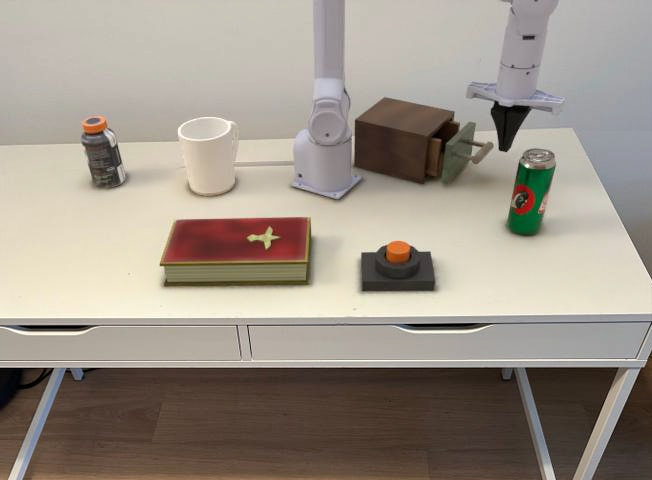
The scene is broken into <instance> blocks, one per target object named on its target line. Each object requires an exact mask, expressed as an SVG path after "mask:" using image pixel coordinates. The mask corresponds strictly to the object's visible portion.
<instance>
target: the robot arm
mask: <svg viewBox="0 0 652 480" xmlns="http://www.w3.org/2000/svg"><path fill="white" fill-rule="evenodd" d="M499 1H500V2H502V3H508V4H510V5H511V7H509V12H508V18H507V24H506V27H505V29H504V36H503V43H502V48H501V56H500V60H499V66H498V67H499V68H498V73H497V79H496V82H479V81H472V82H470V83H469V84H468V85H467V86H466V94H465V98H466V99H469V100H473V99H478V100H484V101H488V102H489V101H490V102H493V105H492V107H491V108H490V116H491V118H492V120H493V124H494V126H495V130H496V136H497V144H498V145H497V146H498V151H499V152H503V153H508V152H509V151H510V149H511V148H512V146H513V144H514V140H515V138H516V136H517V134H518V132H519V130H520V128H521V126H522V125H523V123H524V121H525V120H526V118H527V117H528V116H529V114H530V112H531V111H532V110H537V111H542V112H547V113H551V116H552V115H553V116H559V115H560V114H561V113H562V112H563V110H564V106H565V101H566V98H565V97H561V96H557V95H555V94H551V93H548V92H546V91H543V90H540V89H538V88H537V84H538V79H539V74H540V69H541V64H542V61H543V60H542V59H543V54H544V49H545V45H546V39H547V36H548V35H547V34H548V25H549V21H550V16H551V15H552V14H553V13H554V12H555V10H556V9H557V7H558V5H559V2H560V0H499ZM312 24H313V29H312V30H313V72H314V73H313V74H314V75H313V77H314V81H313V93H312V94H313V95H312V106H311V110H310V113H309V117H308V118H307V123H306V124H307V125H306V126H307V128H303V129H302V130H300V131H299V133H298V134H297V135H296V137H295V139H294V143H293V149H292V153H293V154H292V155H293V172H294V182H292V183H291V185H292V187H294V188H296V189H300V190H304V191H307V192H310V193H314V194H317V195H320V196H325V197H327V198H331V199H333V200H339V199H341V198H342V197H343V196H344V195H346V193H348V192H349V191H350V190H351V189H352V188H354V186H356V185H357V184H358V183H359V182H361V180H362V177H361V176H360V175H356V174H352V165H353V163H352V158H353V157H352V156H353V151H352V150H353V149H352V148H353V131H352V129H351V127H350V126H349V123H348V119H349V113H350V110H351V106H352V103H351V97H350V94H349V92H348V91H347V87H346V74H345V73H346V72H345V52H346V51H345V47H346V45H345V42H346V41H345V35H346V0H312Z"/></svg>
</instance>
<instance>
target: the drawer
mask: <svg viewBox="0 0 652 480" xmlns="http://www.w3.org/2000/svg"><path fill="white" fill-rule="evenodd" d="M476 126H477V123H476V122H473V121H468V122H467V123H466V124H465V125H464V126H463V127H462V128H460V127H461V122H460V121H455V120H454V121H450V120H449V121H448V122H447V123H446V124H445V125H444V126H443V127H441V128H440V129H439V130H438V131H437V132H436V133H435V134H434V135H433V136H432V137H430V138H429V145H428V155H427V166H426V174H428V175H431V177H438V176H439V174H442V175H441V183H443V184H449V183H450V182H451V181H452V180H453V179H454V178H455V177H456V176H457V175H458V174H459V173H460V172H461V171H462V170H463V168H464V167H466V165H468V163H470V161H471V163H472V164H473V165H479V164H480V162H482V161H483V160H484V159H485V157H486V156H487V155H489V153H490V152H491V151H492V150H493V149H494V145H495V144H494V143H493V142H492V141H487V142H486V143H484V142H480V141H475V140H474V139H475V132H476ZM473 147H477V148H480V149H479V150H478V151H477V152H476V153H475V154H474V155H472V153H473Z"/></svg>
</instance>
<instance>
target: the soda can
mask: <svg viewBox="0 0 652 480" xmlns="http://www.w3.org/2000/svg"><path fill="white" fill-rule="evenodd" d="M555 158H556V154H555V153H554V152H553V151H551V150H550V149H547V148H543V147H542V148H541V147H533V148H528V149H526V150H525V151H524V152H523V153H522V156H521V157H520V158H519V160H518V164H517V170H516V174H515V178H514V184H513V190H512V193H511V194H512V195H511V199H510V204H509V209H508V213H507V214H508V215H507V219H506V225H507V227H508V229H509V230H510V231H511V232H513V233H514V234H517V235H522V236H529V235H533V234H536V233H537V232H539V231H540V230H541V229H542V224H543V221H544V216H545V212H546V209H547V204H548V200H549V197H550V192H551V187H552V184H553V179H554V175H555V171H556V167H557V161H556V159H555Z"/></svg>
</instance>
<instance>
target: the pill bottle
mask: <svg viewBox="0 0 652 480" xmlns="http://www.w3.org/2000/svg"><path fill="white" fill-rule="evenodd" d="M107 123H108V122H107V120H106V118H105V117H103V116H101V115H100V116H98V115H97V116H96V115H95V116H89V117H87V118H85V119H84V120H83V121H82V122H81V124H82V128H83V131H84V132H83V133H82V134H81V137H80V141H81V146H82V149H83V152H84V156H85V159H86V163H87V165H88V169H89V173H90V177H91V180H92V183H93V184H94V186H96V187H98V188H101V189H108V188H109V189H110V188H113V187H117V186H120V185H121V184H122V183H124V182H125V180H126V176H127V175H126V171H125V167H124V164H123V163H124V162H123V160H122V157H121V153H120V148H119V144H118V140H117V136H116V133H115V131H114V130H113V129H111V128H110V127H108V124H107Z"/></svg>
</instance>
